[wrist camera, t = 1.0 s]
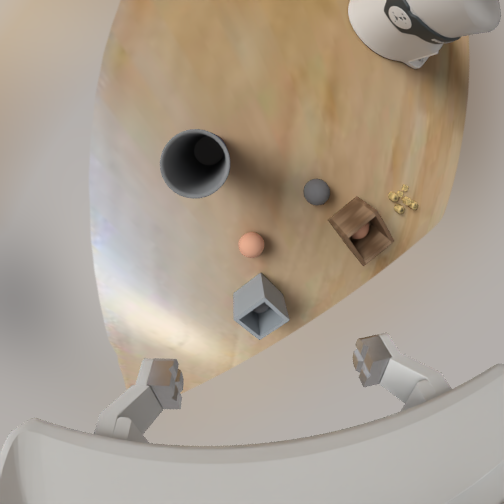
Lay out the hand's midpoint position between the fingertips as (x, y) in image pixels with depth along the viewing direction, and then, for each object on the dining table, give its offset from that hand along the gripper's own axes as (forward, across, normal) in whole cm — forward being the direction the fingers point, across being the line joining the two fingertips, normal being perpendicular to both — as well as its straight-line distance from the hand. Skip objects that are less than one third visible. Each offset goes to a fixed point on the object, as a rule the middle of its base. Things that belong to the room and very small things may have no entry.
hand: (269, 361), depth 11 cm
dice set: (+33, -28, +2) cm, 43 cm away
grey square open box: (+33, -2, +19) cm, 38 cm away
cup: (+33, +4, -7) cm, 34 cm away
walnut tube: (+33, -18, +6) cm, 38 cm away
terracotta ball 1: (+33, -1, +8) cm, 34 cm away
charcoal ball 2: (+33, -11, 0) cm, 35 cm away
